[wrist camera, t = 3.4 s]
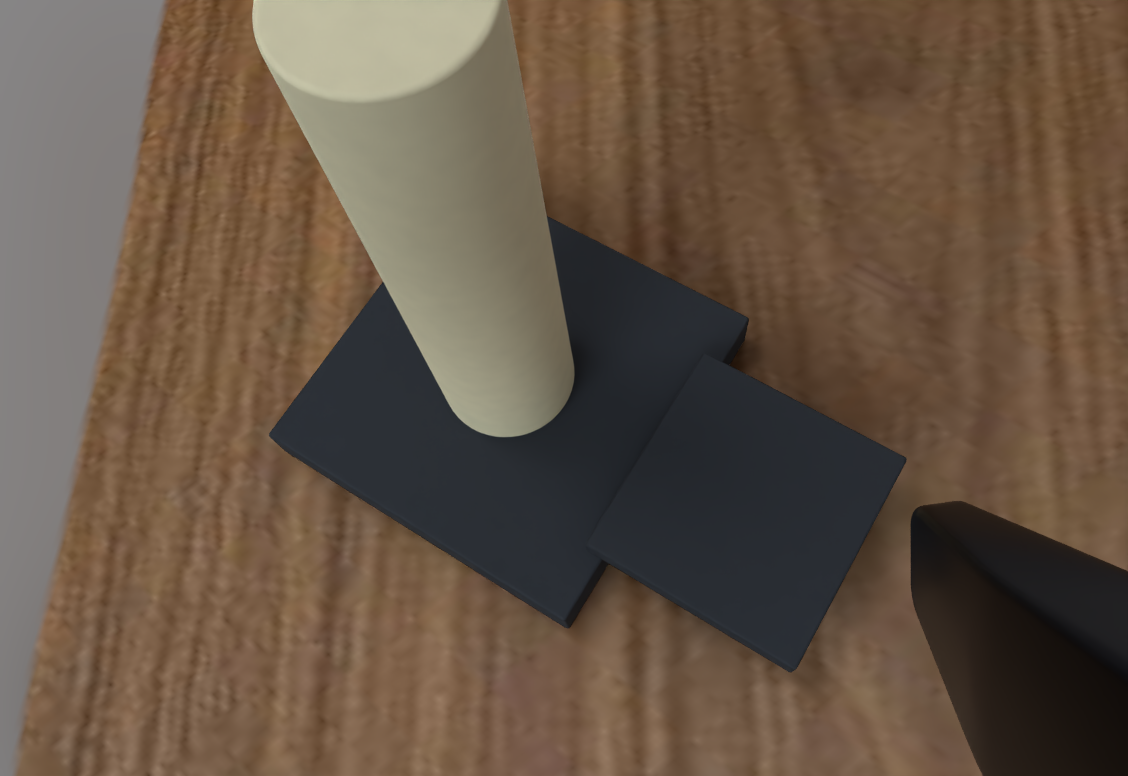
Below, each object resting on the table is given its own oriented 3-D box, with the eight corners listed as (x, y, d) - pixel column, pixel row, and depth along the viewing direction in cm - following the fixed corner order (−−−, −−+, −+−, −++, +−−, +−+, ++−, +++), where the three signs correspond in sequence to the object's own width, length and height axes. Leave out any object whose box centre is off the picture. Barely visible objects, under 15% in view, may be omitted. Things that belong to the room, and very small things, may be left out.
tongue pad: (917, 427, 22) (1228, 20, 10) (749, 743, 20) (895, 692, 8) (471, 199, 26) (314, -313, 14) (284, 450, 23) (-100, 106, 11)
